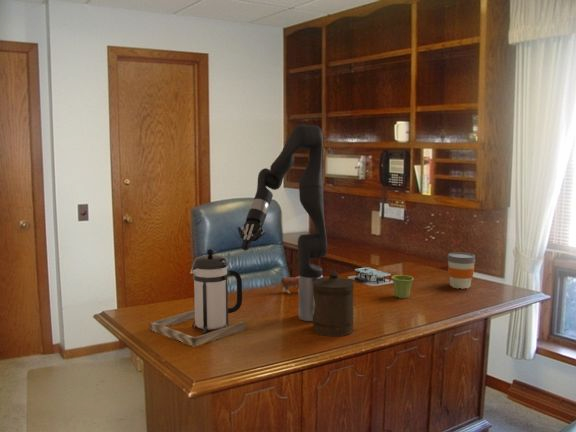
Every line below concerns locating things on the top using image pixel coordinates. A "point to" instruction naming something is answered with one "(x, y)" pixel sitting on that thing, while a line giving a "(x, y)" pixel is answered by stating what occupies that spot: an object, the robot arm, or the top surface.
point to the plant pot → (402, 285)
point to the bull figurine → (290, 283)
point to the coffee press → (213, 291)
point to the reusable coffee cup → (460, 269)
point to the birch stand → (162, 328)
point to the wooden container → (333, 306)
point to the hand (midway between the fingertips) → (244, 249)
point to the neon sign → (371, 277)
